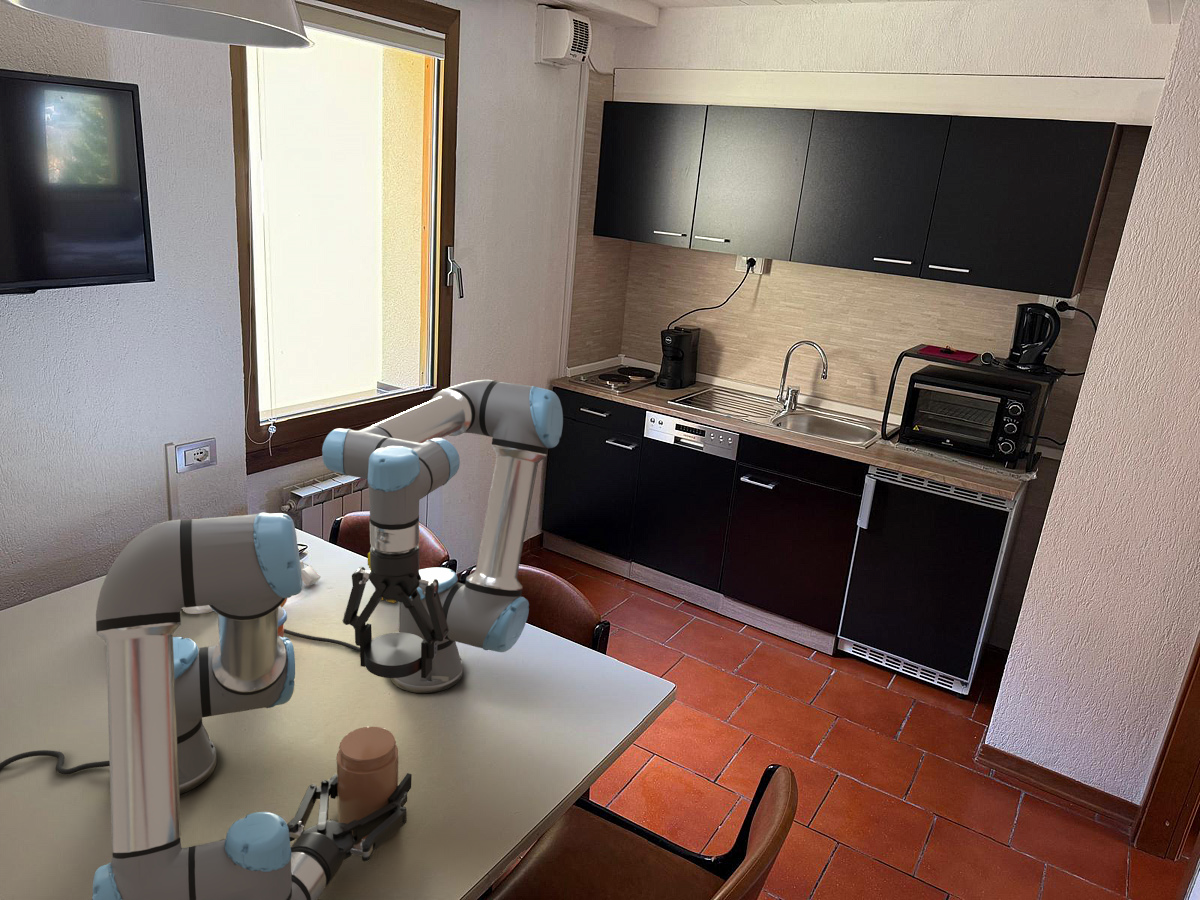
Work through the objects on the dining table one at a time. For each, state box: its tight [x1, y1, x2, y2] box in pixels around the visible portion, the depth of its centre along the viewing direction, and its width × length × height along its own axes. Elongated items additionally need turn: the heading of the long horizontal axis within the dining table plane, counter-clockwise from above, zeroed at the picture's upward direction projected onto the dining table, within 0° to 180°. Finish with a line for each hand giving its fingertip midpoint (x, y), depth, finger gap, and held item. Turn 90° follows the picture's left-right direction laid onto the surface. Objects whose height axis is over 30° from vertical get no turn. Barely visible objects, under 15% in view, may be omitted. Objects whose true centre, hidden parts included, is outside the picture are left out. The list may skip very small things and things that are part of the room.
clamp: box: [300, 560, 322, 587], centre depth 219 cm, size 20×4×7 cm, turn 62°
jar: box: [336, 726, 399, 844], centre depth 138 cm, size 10×10×15 cm
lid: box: [364, 631, 423, 679], centre depth 140 cm, size 10×10×2 cm
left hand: (381, 773), depth 142 cm, fingers closed on jar, 9 cm apart
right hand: (396, 667), depth 141 cm, fingers closed on lid, 10 cm apart
